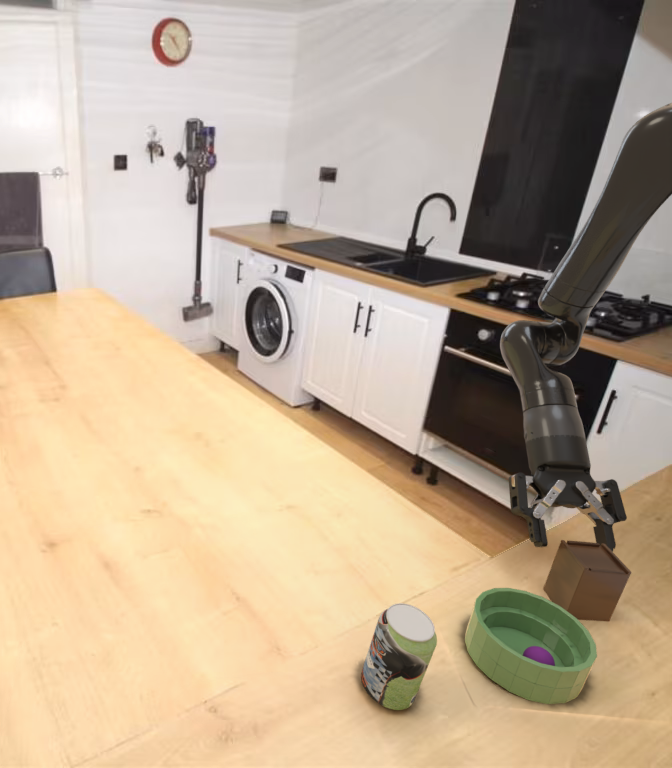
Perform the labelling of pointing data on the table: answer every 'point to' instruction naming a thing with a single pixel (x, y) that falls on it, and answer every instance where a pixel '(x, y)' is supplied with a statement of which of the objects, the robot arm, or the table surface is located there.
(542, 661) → the ball
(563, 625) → the bowl
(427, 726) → the table surface
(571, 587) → the ball stand
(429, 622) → the beverage can
